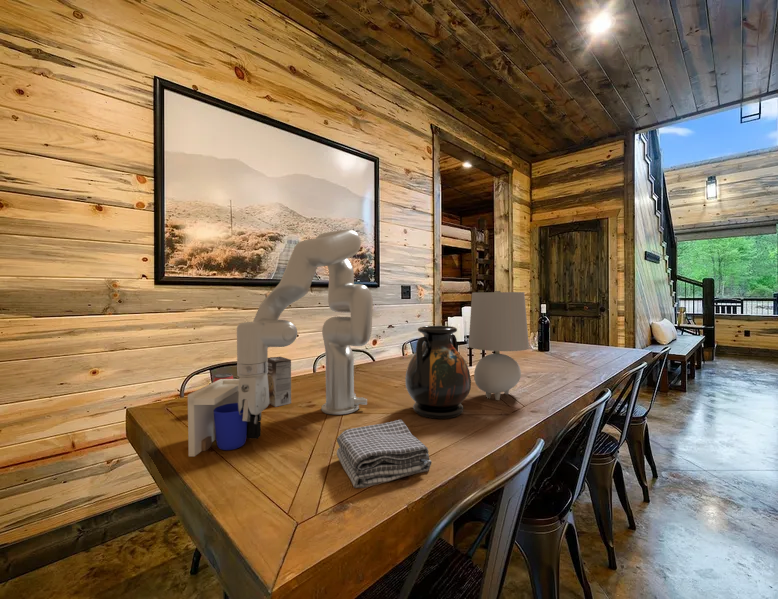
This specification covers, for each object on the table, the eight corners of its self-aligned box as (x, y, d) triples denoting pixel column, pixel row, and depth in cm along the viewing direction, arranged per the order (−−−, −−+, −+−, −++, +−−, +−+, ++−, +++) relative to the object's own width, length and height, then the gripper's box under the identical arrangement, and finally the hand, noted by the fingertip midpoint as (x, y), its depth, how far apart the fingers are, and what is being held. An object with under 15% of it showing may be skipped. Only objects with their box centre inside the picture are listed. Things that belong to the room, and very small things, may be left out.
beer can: (238, 407, 123) (237, 373, 122) (227, 413, 116) (227, 377, 116) (220, 406, 123) (220, 372, 123) (209, 412, 117) (208, 377, 117)
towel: (334, 461, 82) (334, 427, 82) (404, 447, 89) (404, 416, 89) (354, 494, 68) (353, 454, 68) (435, 474, 75) (435, 438, 75)
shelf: (243, 430, 100) (242, 378, 100) (215, 456, 84) (214, 394, 84) (221, 430, 100) (220, 379, 100) (188, 456, 84) (187, 394, 84)
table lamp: (490, 386, 147) (489, 291, 147) (541, 396, 131) (540, 290, 131) (457, 397, 132) (456, 291, 131) (510, 410, 116) (509, 290, 115)
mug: (265, 436, 96) (264, 400, 96) (232, 455, 85) (231, 414, 85) (241, 432, 99) (241, 397, 99) (206, 450, 88) (205, 410, 88)
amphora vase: (442, 429, 100) (441, 331, 100) (392, 411, 117) (391, 327, 116) (484, 412, 115) (484, 327, 114) (435, 398, 131) (434, 323, 131)
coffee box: (264, 401, 129) (263, 358, 128) (280, 398, 133) (280, 355, 133) (275, 407, 122) (274, 361, 122) (292, 403, 126) (291, 358, 126)
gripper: (255, 375, 85) (256, 450, 85) (276, 363, 100) (277, 427, 100) (225, 375, 85) (226, 450, 85) (250, 363, 100) (251, 427, 100)
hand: (253, 437), depth 92 cm, fingers closed
